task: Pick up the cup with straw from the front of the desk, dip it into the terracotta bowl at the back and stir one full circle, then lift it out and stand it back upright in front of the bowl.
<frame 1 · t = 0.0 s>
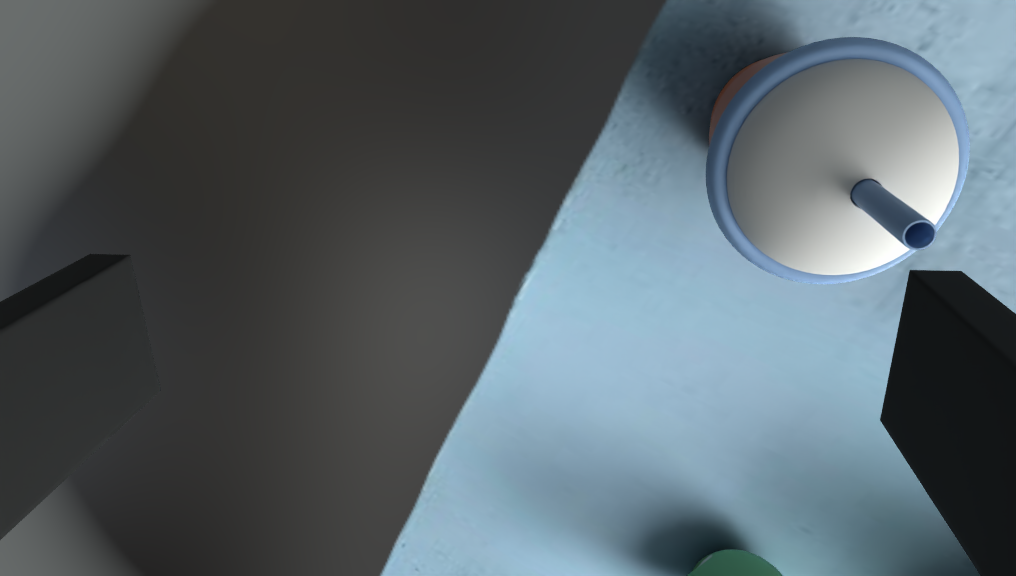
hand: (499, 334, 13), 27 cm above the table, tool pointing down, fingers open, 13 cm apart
cup with straw: (772, 120, 37), on the table
alien toy: (722, 563, 47), on the table
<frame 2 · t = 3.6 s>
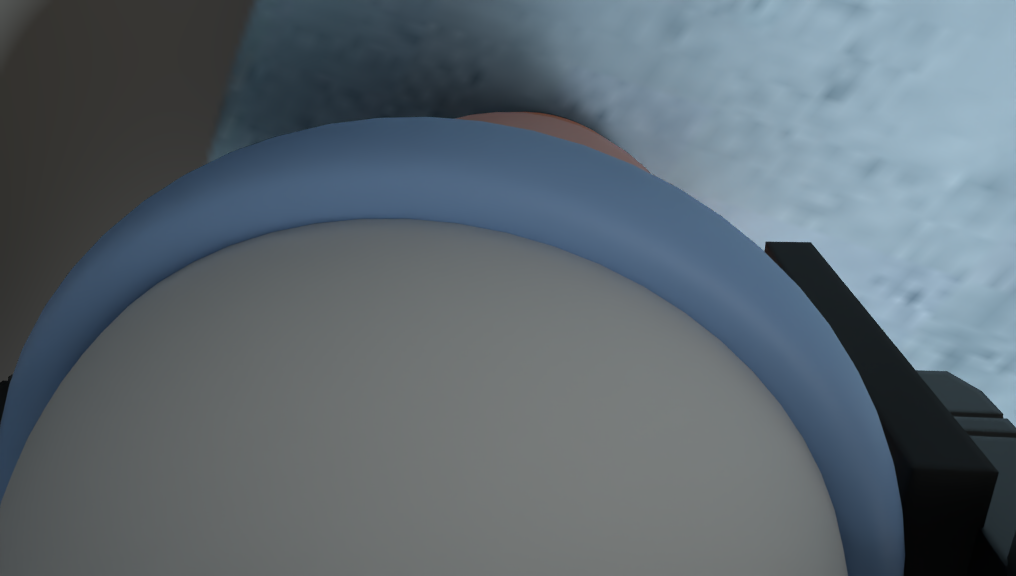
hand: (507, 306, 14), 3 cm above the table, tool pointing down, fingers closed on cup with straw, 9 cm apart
cup with straw: (525, 242, 17), on the table, touching gripper
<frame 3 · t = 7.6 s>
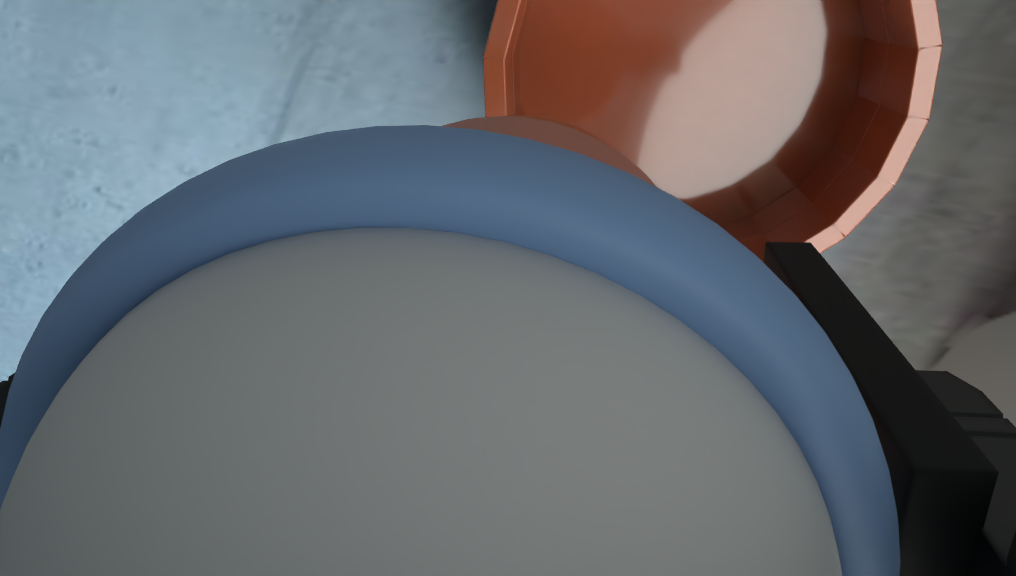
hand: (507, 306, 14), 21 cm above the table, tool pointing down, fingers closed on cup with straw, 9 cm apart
cup with straw: (524, 245, 17), point 17 cm above the table, touching gripper
bowl: (684, 69, 32), on the table
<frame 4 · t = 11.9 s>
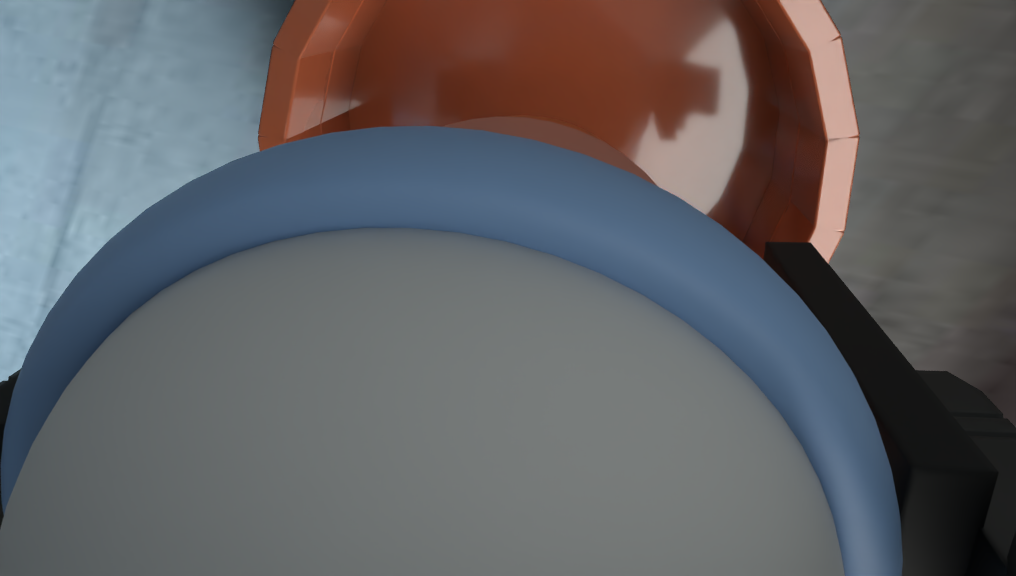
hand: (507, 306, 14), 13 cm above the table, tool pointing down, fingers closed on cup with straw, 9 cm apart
cup with straw: (525, 245, 17), point 9 cm above the table, touching gripper
bowl: (557, 140, 25), on the table
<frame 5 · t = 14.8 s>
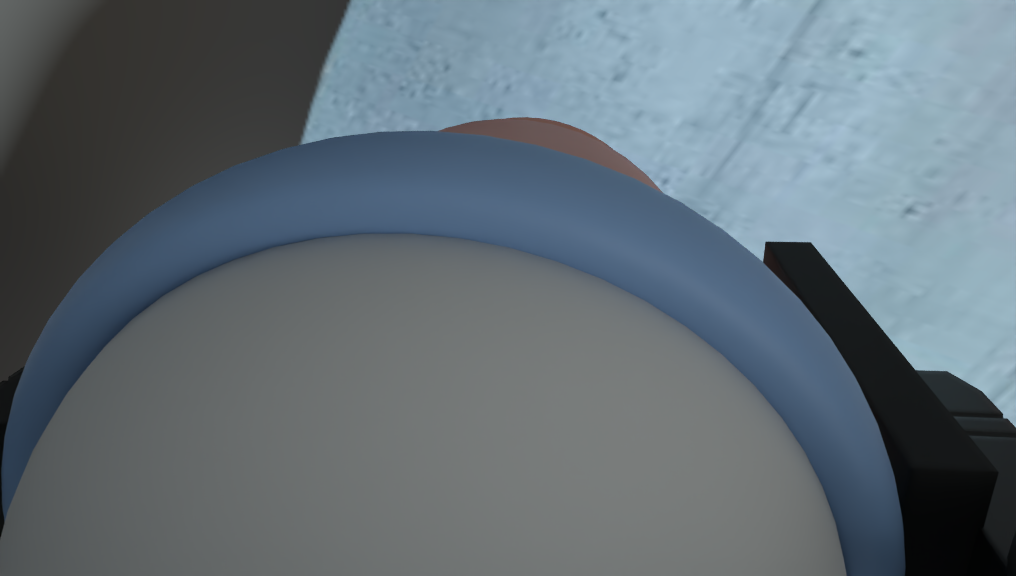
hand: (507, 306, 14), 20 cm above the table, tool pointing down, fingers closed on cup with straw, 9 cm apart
cup with straw: (526, 247, 17), point 17 cm above the table, touching gripper
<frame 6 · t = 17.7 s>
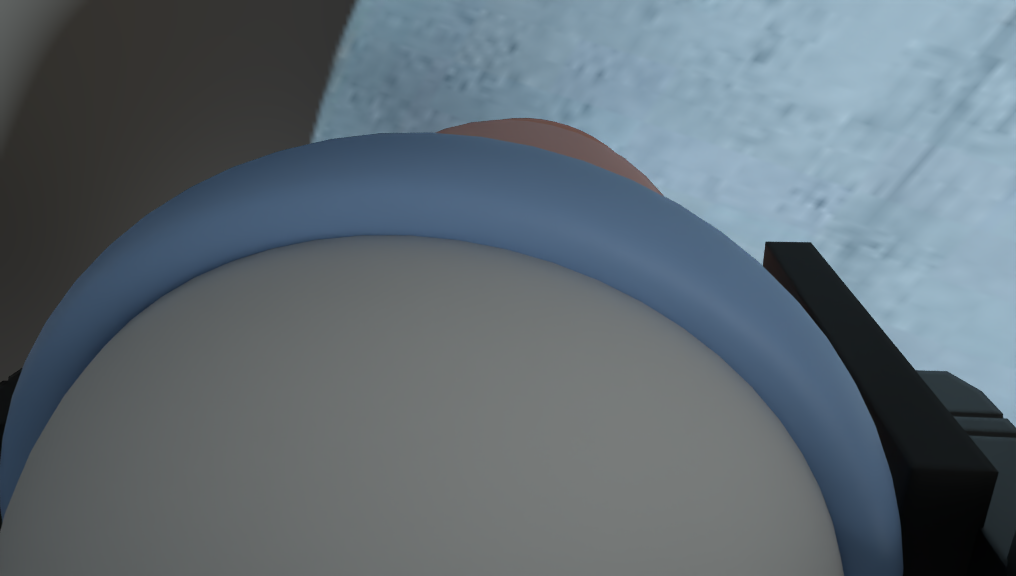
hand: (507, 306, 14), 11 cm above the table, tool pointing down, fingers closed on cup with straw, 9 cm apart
cup with straw: (525, 248, 17), point 7 cm above the table, touching gripper
when the fingers open (3 cm above the table, at t = 20.2 s): cup with straw stays where it is, on the table.
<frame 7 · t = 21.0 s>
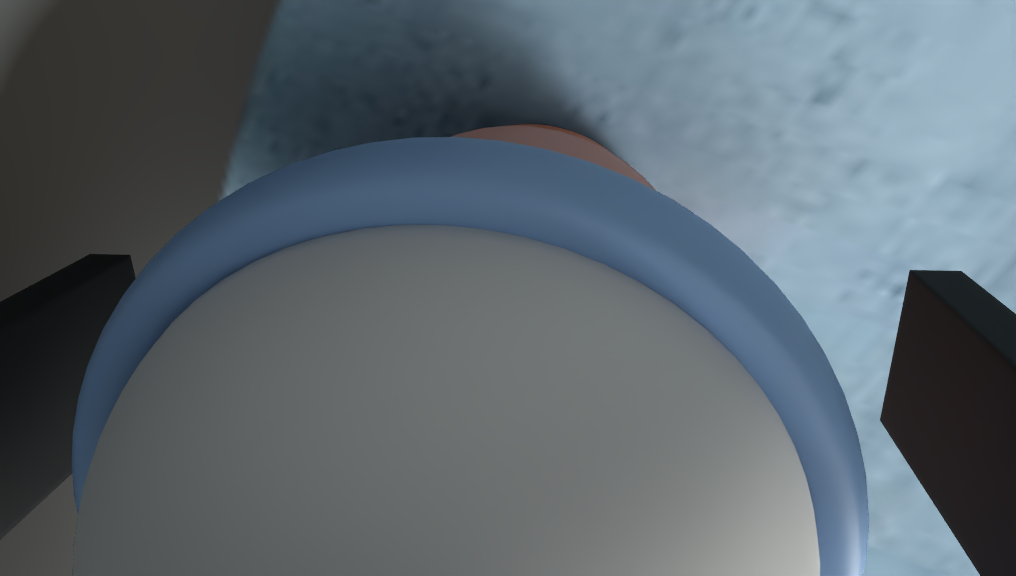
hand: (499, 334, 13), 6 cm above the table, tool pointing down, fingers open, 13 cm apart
cup with straw: (530, 246, 18), on the table
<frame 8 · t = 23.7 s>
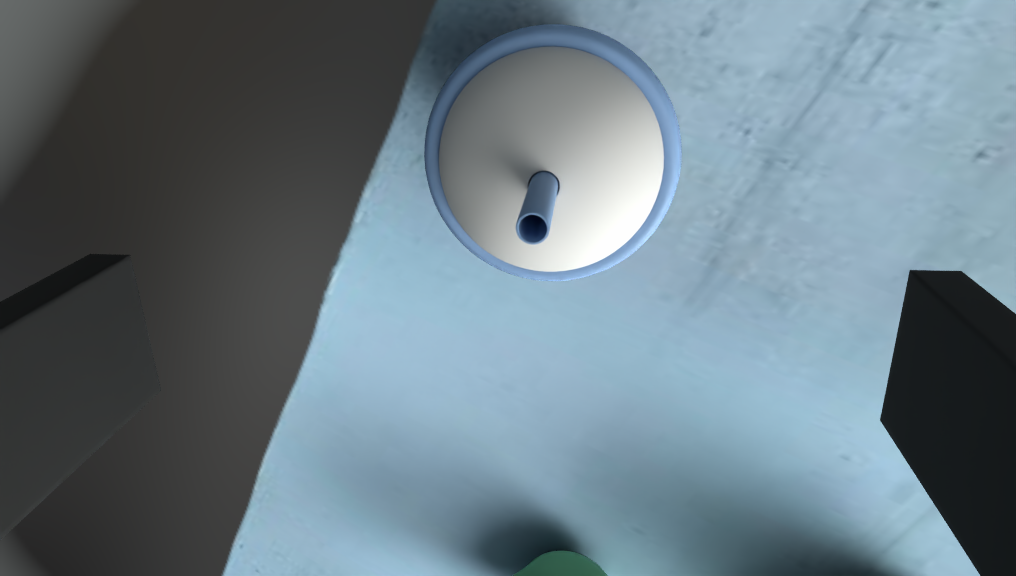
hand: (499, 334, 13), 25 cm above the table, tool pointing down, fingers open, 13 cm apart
cup with straw: (563, 113, 36), on the table
alien toy: (559, 564, 46), on the table
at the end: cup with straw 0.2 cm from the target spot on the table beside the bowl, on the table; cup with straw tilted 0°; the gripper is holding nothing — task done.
